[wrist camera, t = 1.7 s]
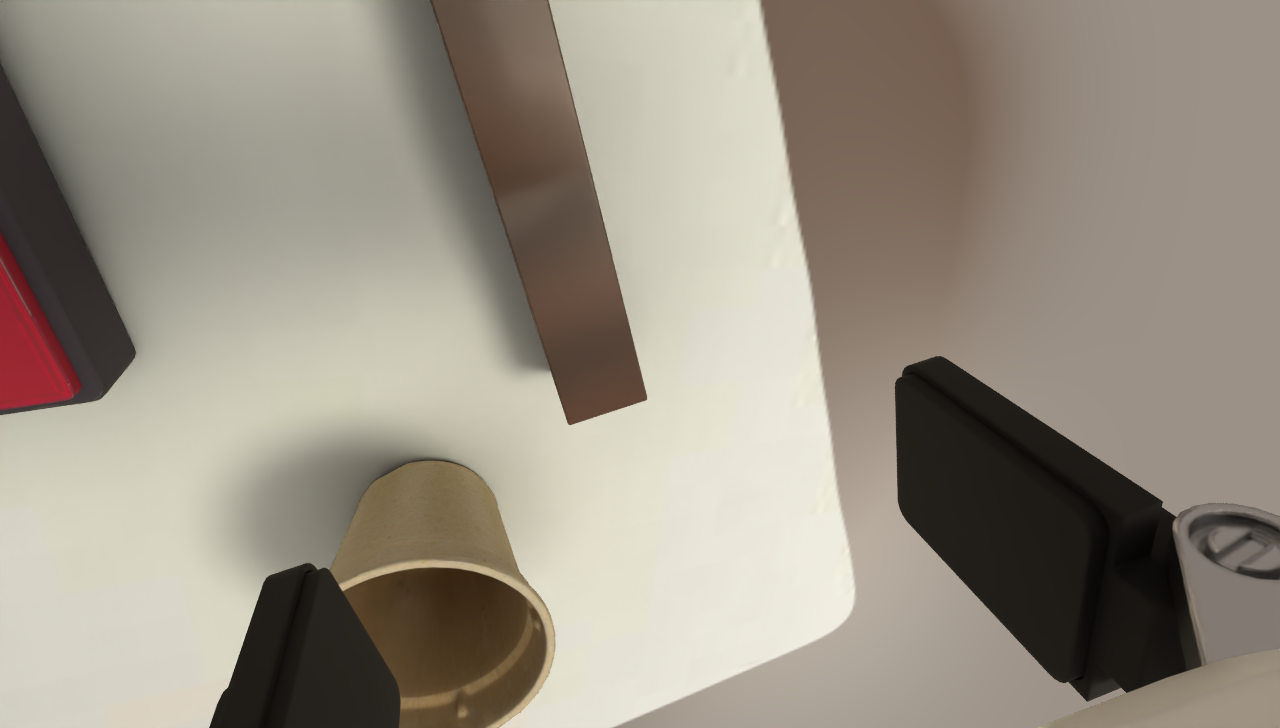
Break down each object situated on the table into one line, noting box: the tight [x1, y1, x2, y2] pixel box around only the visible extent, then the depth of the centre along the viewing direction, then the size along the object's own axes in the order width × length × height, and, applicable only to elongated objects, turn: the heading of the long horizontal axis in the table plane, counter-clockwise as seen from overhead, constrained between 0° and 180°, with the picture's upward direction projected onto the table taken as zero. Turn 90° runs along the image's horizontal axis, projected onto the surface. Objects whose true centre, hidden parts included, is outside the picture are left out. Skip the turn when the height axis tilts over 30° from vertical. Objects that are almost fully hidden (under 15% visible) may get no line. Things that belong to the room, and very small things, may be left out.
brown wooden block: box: [430, 0, 647, 425], centre depth 24 cm, size 16×3×5 cm, turn 13°
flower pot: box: [330, 461, 555, 728], centre depth 27 cm, size 9×9×9 cm
